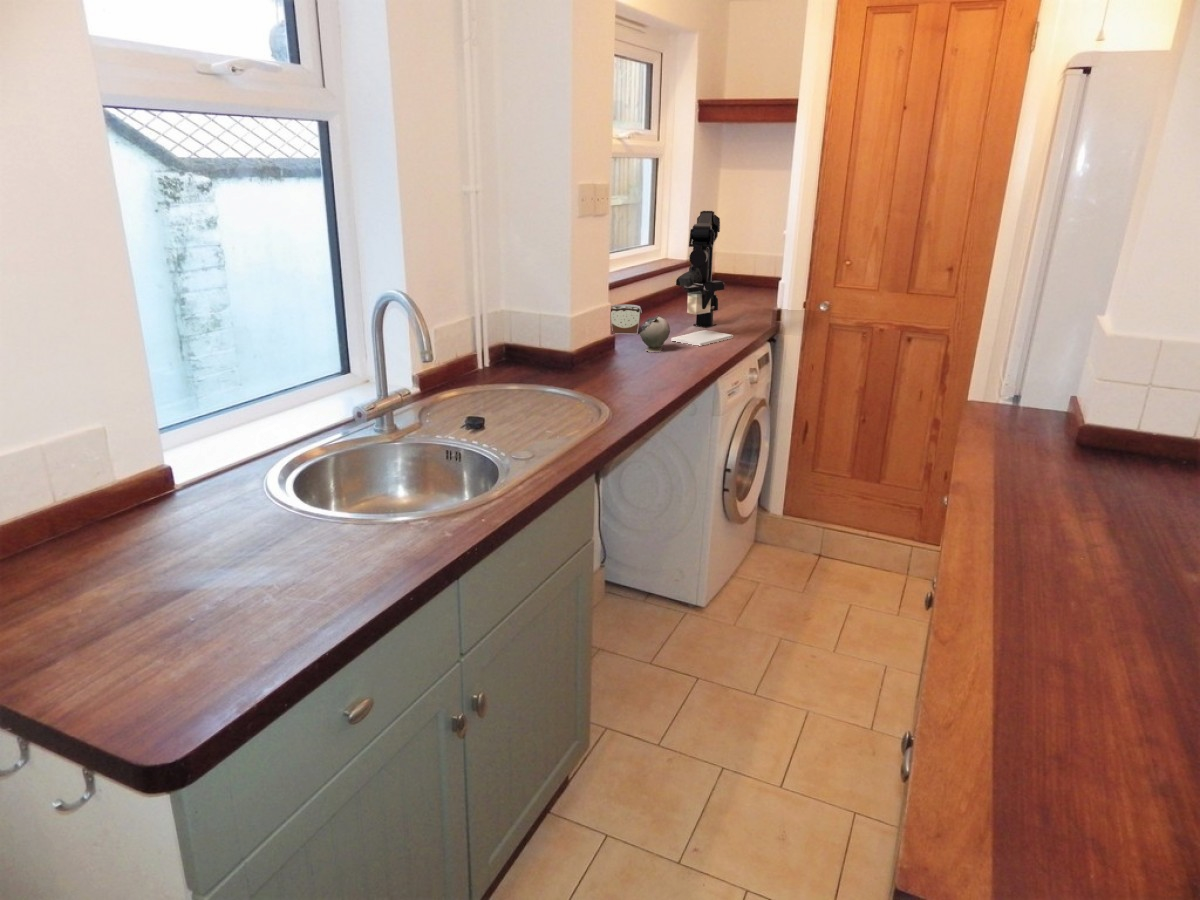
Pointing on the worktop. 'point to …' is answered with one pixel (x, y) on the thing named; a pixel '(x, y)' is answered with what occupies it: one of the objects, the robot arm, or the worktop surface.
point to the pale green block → (696, 303)
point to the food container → (625, 319)
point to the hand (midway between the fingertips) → (698, 308)
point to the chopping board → (702, 337)
